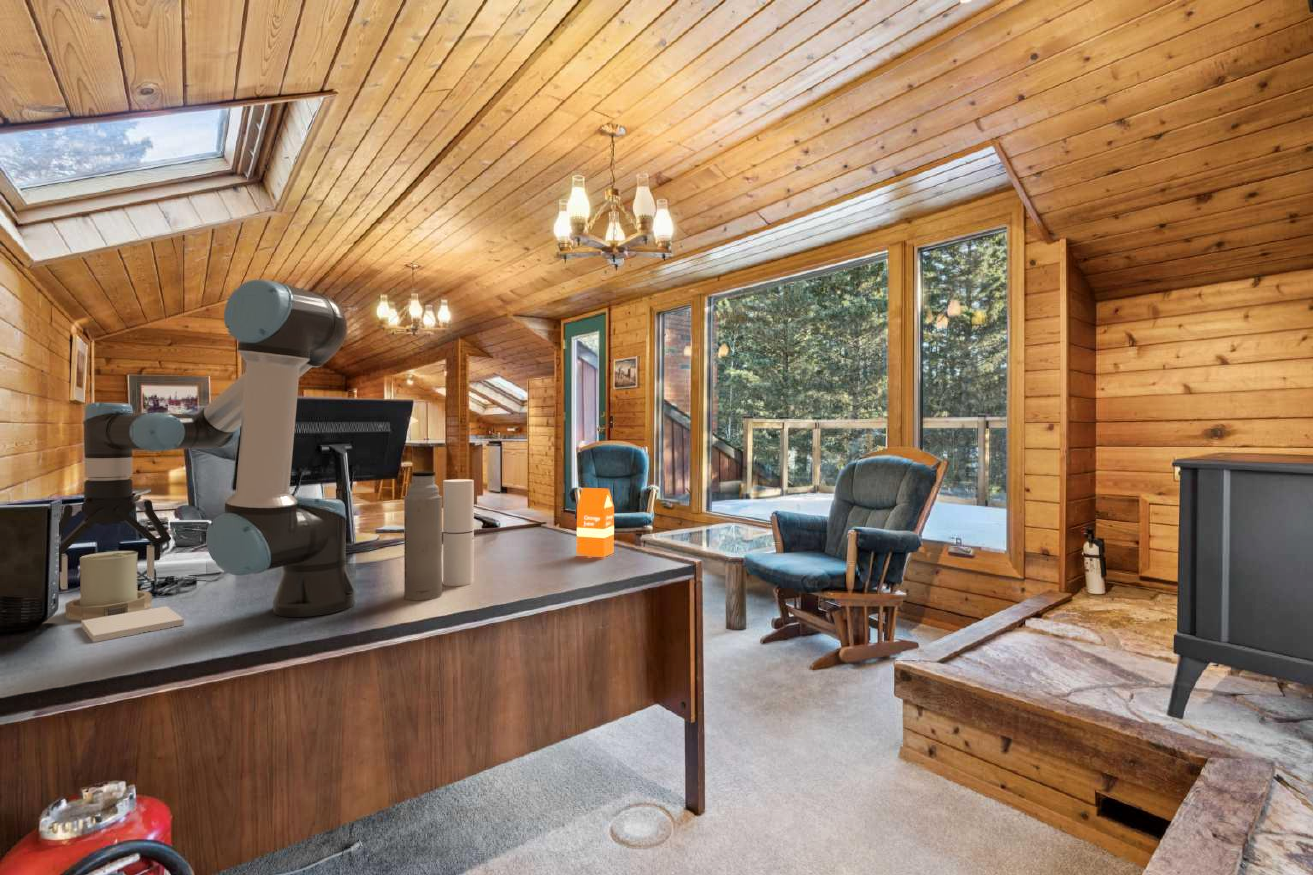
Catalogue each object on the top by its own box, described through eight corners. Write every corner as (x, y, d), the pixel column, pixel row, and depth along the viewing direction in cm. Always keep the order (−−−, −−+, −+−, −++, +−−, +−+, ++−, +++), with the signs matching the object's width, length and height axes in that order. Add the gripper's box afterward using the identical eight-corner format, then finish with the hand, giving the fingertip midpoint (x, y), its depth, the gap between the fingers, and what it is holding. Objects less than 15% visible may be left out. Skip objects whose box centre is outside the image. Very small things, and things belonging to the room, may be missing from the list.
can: (104, 619, 125) (103, 558, 125) (67, 616, 127) (66, 556, 127) (150, 606, 134) (149, 549, 134) (114, 603, 136) (114, 547, 136)
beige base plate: (183, 625, 122) (183, 618, 122) (93, 642, 112) (93, 635, 112) (166, 612, 130) (166, 606, 130) (81, 626, 120) (81, 620, 120)
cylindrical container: (436, 584, 155) (436, 481, 154) (456, 577, 161) (456, 478, 161) (460, 587, 152) (460, 482, 151) (479, 580, 158) (479, 479, 158)
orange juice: (587, 551, 196) (587, 486, 196) (614, 553, 193) (614, 487, 193) (576, 556, 189) (576, 488, 189) (603, 558, 186) (604, 490, 186)
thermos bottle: (399, 600, 140) (399, 472, 139) (410, 591, 148) (410, 470, 147) (436, 600, 141) (436, 472, 140) (445, 590, 148) (445, 470, 148)
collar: (158, 611, 131) (158, 599, 131) (72, 626, 121) (72, 612, 121) (141, 597, 141) (141, 586, 141) (61, 610, 131) (61, 598, 131)
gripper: (178, 474, 142) (178, 569, 143) (21, 480, 124) (21, 589, 124) (187, 476, 137) (187, 574, 138) (25, 483, 119) (25, 597, 119)
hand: (108, 582), depth 131 cm, fingers open, 13 cm apart
